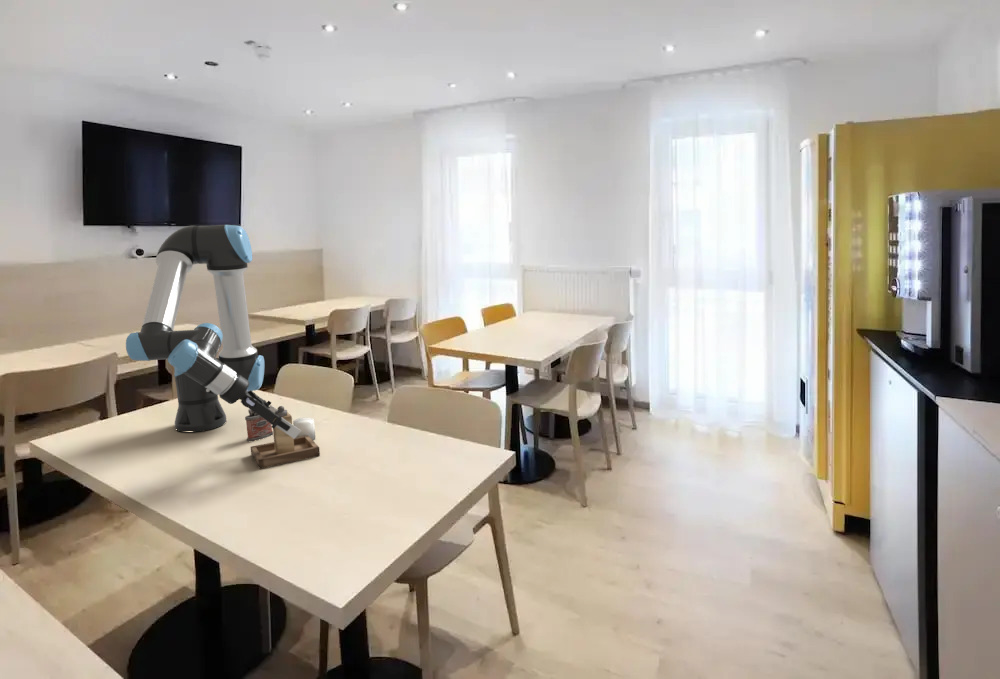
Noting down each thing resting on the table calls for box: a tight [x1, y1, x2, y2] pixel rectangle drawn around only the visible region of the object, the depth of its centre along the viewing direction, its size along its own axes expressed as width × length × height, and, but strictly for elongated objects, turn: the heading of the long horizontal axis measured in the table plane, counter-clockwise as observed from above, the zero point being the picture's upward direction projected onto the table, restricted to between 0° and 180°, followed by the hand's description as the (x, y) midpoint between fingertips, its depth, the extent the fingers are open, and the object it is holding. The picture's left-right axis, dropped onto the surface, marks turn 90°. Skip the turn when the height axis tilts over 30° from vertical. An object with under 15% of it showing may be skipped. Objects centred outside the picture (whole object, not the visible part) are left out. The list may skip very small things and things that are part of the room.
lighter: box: [244, 408, 274, 442], centre depth 176 cm, size 8×3×10 cm, turn 143°
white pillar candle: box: [292, 417, 316, 441], centre depth 174 cm, size 6×6×6 cm
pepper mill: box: [272, 405, 295, 455], centre depth 161 cm, size 4×4×14 cm
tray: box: [250, 435, 321, 470], centre depth 162 cm, size 12×16×2 cm
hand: (291, 427), depth 162 cm, fingers open, 13 cm apart
